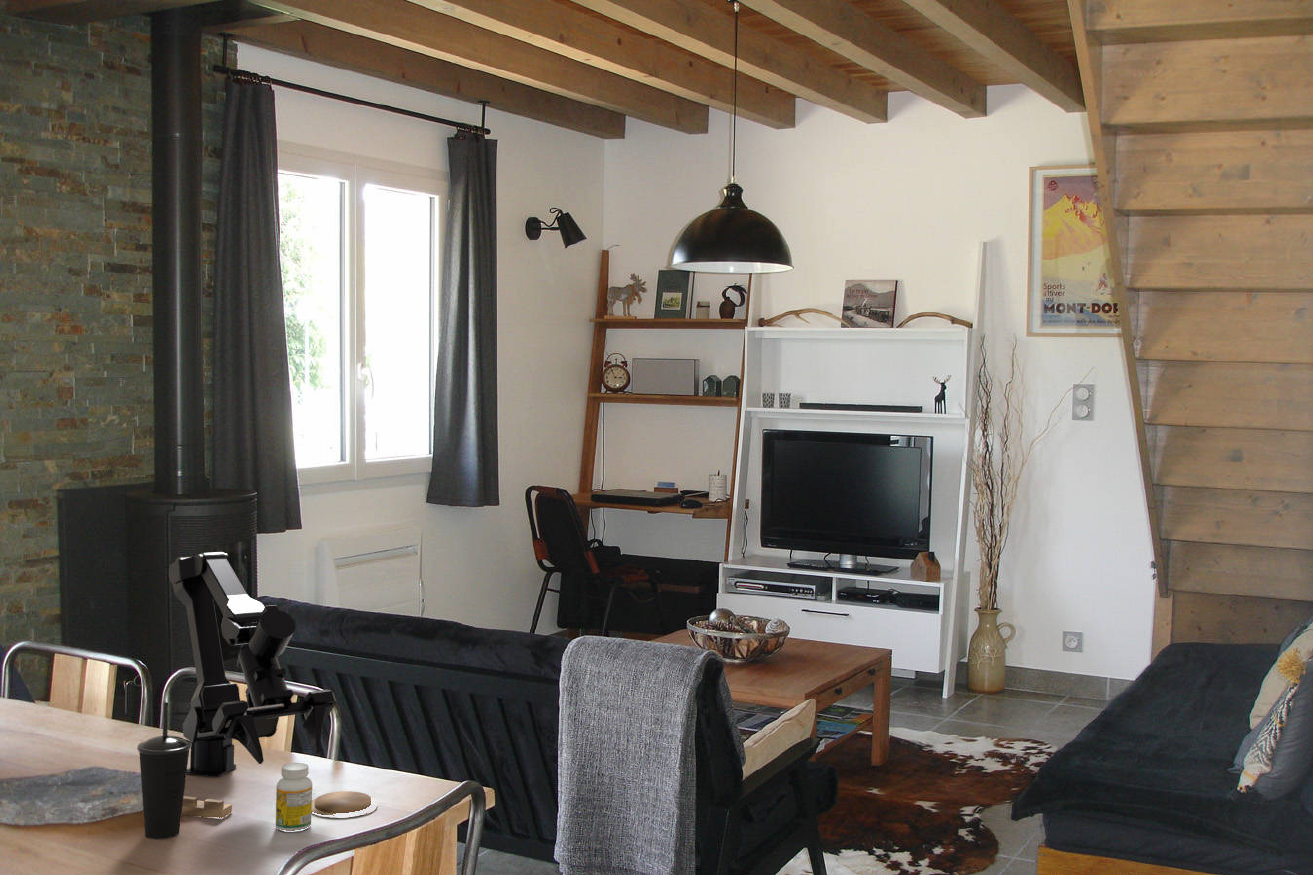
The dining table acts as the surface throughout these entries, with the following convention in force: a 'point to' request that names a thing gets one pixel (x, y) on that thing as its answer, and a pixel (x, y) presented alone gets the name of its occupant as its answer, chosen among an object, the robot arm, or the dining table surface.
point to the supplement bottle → (294, 798)
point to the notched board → (205, 807)
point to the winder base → (340, 802)
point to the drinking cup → (163, 781)
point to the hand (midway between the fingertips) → (289, 758)
